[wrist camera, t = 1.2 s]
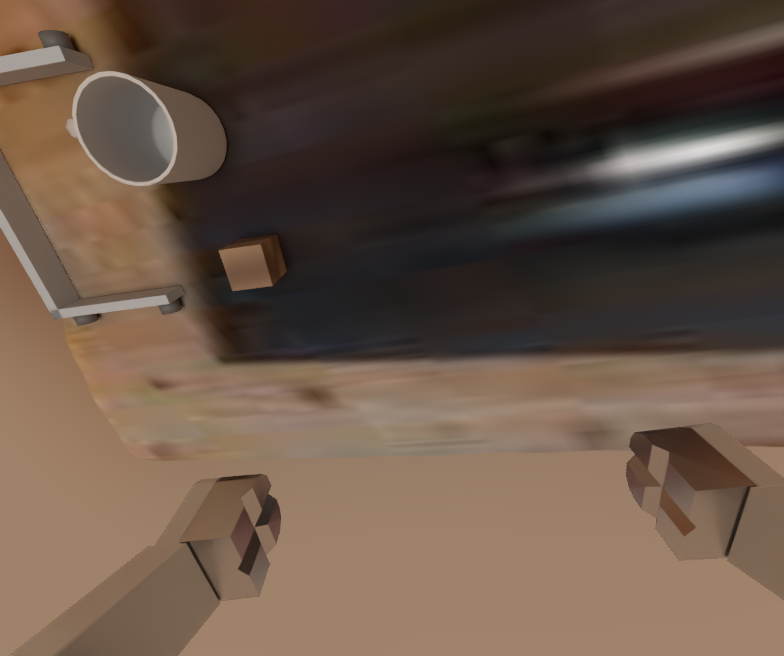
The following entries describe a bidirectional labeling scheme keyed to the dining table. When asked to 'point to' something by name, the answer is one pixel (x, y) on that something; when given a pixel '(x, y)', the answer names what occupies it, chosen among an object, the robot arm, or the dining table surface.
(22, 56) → the cart frame
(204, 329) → the dining table surface
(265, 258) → the walnut block
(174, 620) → the robot arm
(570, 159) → the dining table surface
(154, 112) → the cup
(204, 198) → the dining table surface
